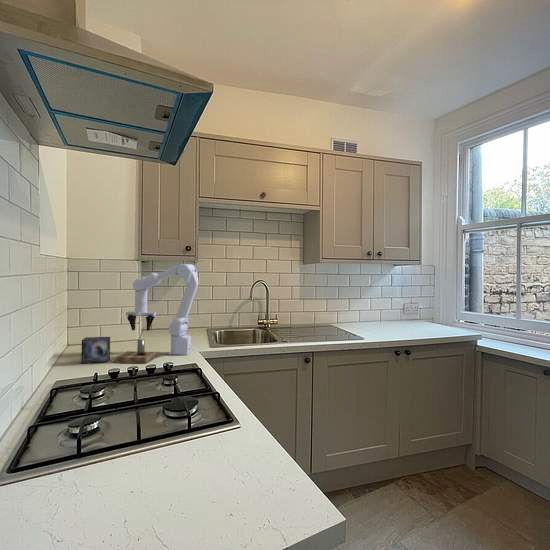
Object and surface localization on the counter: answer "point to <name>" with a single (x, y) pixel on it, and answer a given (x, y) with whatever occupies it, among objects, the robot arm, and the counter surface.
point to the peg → (141, 347)
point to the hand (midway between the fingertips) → (140, 330)
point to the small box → (95, 350)
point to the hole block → (135, 357)
